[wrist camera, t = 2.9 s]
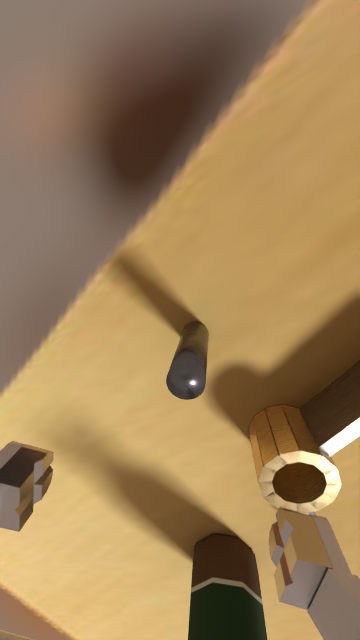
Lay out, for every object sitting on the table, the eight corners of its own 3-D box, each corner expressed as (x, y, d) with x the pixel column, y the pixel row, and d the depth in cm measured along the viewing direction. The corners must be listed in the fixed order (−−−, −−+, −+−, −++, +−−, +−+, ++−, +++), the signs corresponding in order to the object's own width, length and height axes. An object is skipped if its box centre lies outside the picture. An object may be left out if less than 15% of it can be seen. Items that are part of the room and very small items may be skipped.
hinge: (375, 314, 22) (431, 338, 17) (493, 423, 24) (582, 481, 18) (208, 455, 28) (207, 508, 23) (310, 536, 30) (332, 606, 24)
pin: (194, 316, 24) (183, 356, 16) (213, 333, 25) (213, 381, 16) (177, 334, 25) (158, 382, 17) (196, 351, 25) (187, 406, 17)
